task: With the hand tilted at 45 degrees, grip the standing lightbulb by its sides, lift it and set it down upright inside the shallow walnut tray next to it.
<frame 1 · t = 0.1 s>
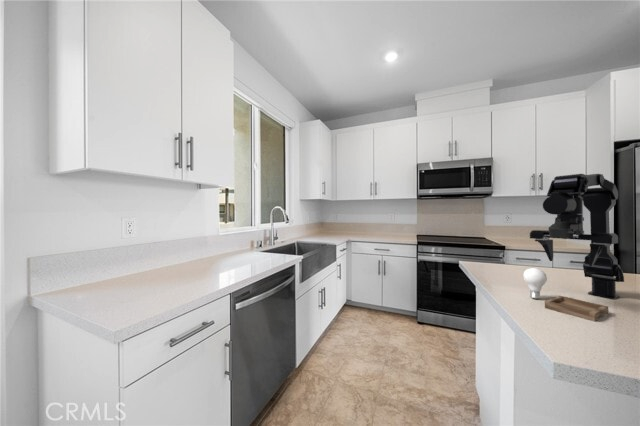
hand: (570, 263, 76), 15 cm above the table, tool pointing down, fingers open, 9 cm apart
walnut tray: (575, 310, 75), on the table
lightbulb: (535, 299, 86), on the table
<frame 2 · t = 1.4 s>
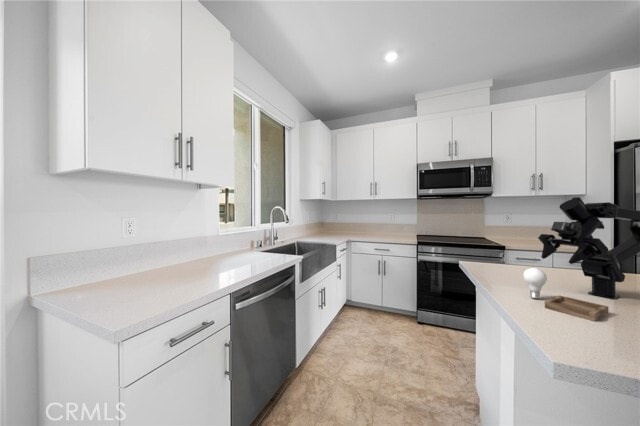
hand: (555, 260, 87), 14 cm above the table, tool tilted 45°, fingers open, 9 cm apart
nothing on the table moved.
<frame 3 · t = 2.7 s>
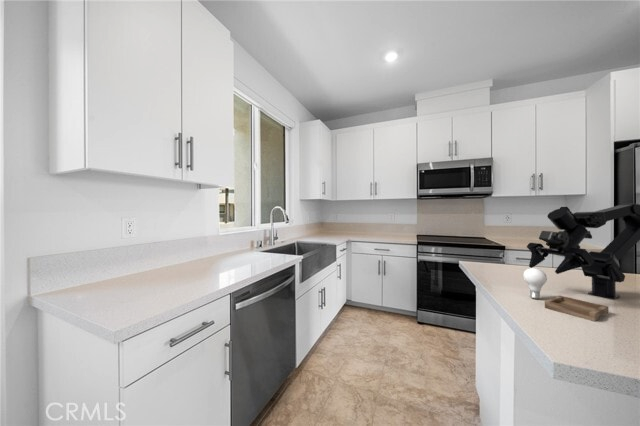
hand: (542, 269, 86), 10 cm above the table, tool tilted 45°, fingers open, 9 cm apart
nothing on the table moved.
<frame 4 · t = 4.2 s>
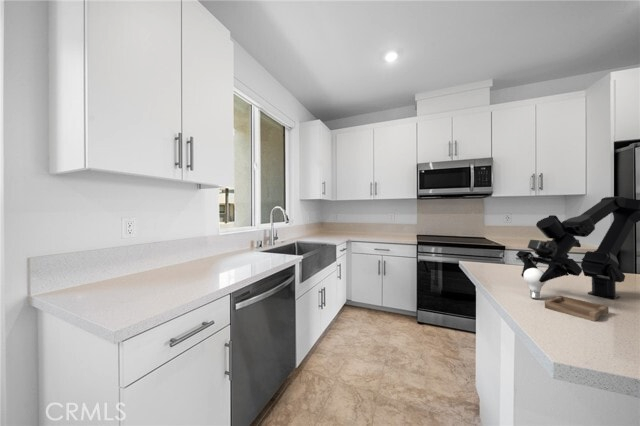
hand: (531, 279, 86), 7 cm above the table, tool tilted 45°, fingers closed on lightbulb, 6 cm apart
lightbulb: (535, 299, 86), on the table, touching gripper
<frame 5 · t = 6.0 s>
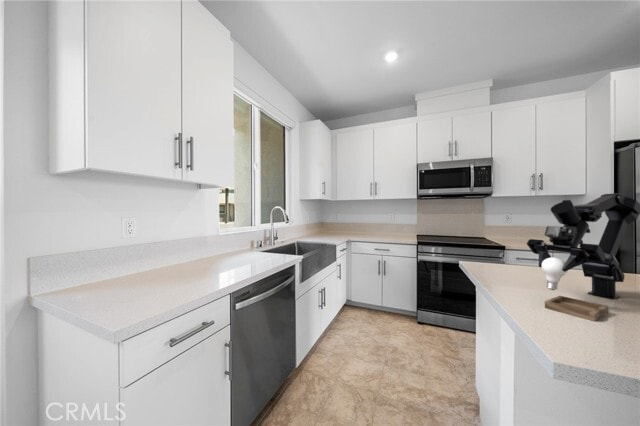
hand: (551, 268, 80), 12 cm above the table, tool tilted 45°, fingers closed on lightbulb, 6 cm apart
lightbulb: (551, 290, 81), point 5 cm above the table, touching gripper
when the fingers open (9 cm above the table, at t = 7.8 s): lightbulb stays where it is, resting on walnut tray.
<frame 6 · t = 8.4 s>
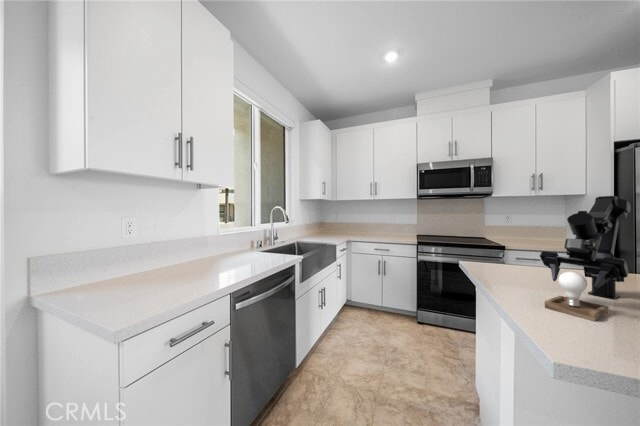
hand: (573, 284, 75), 9 cm above the table, tool tilted 45°, fingers open, 9 cm apart
lightbulb: (573, 307, 76), point 1 cm above the table, touching walnut tray
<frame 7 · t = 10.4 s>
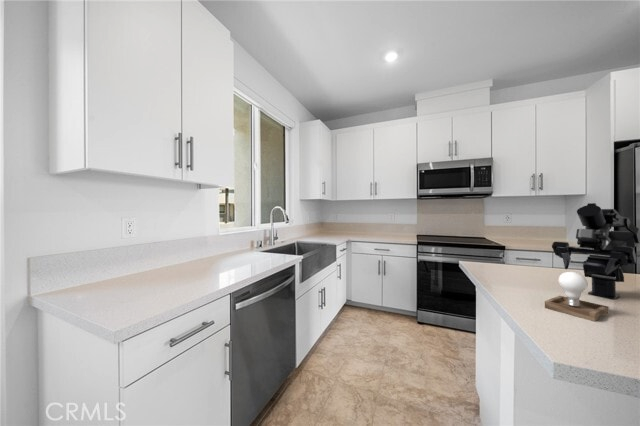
hand: (584, 271, 80), 11 cm above the table, tool tilted 45°, fingers open, 9 cm apart
nothing on the table moved.
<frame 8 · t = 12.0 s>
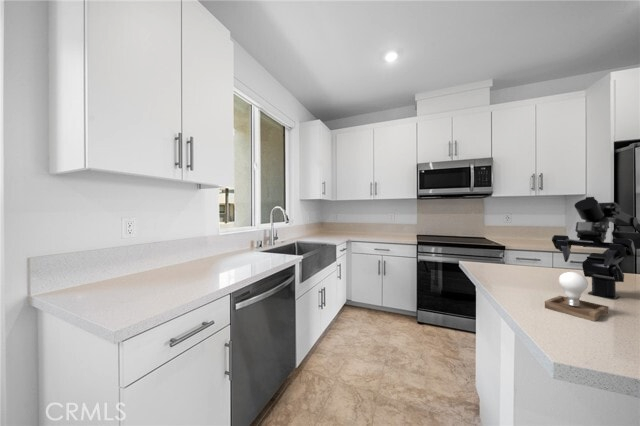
hand: (584, 263, 81), 14 cm above the table, tool tilted 45°, fingers open, 9 cm apart
nothing on the table moved.
at the end: lightbulb inside the target area on the walnut tray (0.6 cm from its centre), point 0.8 cm above the walnut tray's base; lightbulb tilted 0°; the gripper is holding nothing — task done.
